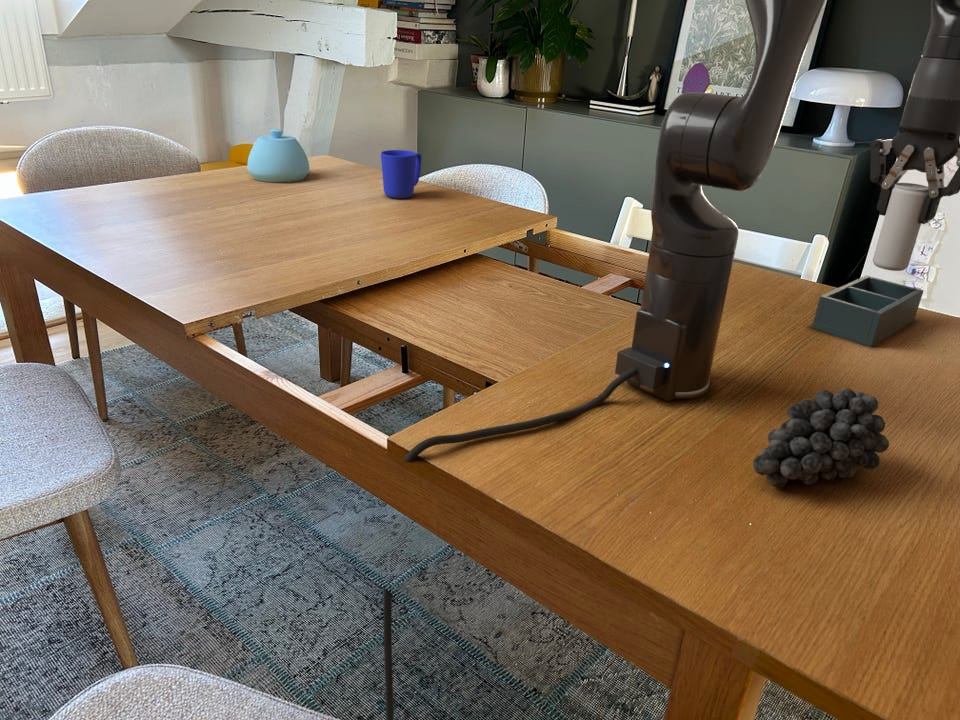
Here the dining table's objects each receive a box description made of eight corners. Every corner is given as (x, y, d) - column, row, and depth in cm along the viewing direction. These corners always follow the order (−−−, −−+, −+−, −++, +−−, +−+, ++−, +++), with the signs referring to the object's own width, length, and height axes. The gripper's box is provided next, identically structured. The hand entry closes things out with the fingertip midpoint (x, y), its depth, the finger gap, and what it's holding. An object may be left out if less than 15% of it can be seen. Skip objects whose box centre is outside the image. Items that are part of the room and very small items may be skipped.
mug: (432, 193, 176) (433, 151, 172) (401, 202, 167) (401, 157, 163) (405, 188, 180) (405, 146, 176) (373, 196, 171) (373, 152, 167)
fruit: (787, 418, 64) (904, 386, 70) (720, 403, 71) (830, 376, 77) (792, 512, 65) (906, 474, 71) (725, 488, 73) (833, 455, 78)
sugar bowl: (321, 175, 189) (319, 129, 184) (286, 186, 176) (283, 136, 172) (273, 169, 194) (269, 123, 189) (235, 178, 181) (231, 130, 176)
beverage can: (870, 267, 109) (893, 186, 104) (871, 259, 112) (894, 181, 107) (907, 273, 107) (932, 191, 102) (906, 265, 111) (931, 185, 105)
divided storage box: (913, 321, 113) (923, 290, 111) (871, 347, 103) (881, 313, 101) (857, 304, 119) (865, 275, 117) (811, 327, 108) (819, 296, 106)
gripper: (874, 90, 102) (842, 211, 109) (991, 101, 92) (948, 234, 99) (895, 88, 106) (863, 205, 113) (1008, 99, 97) (966, 226, 104)
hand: (903, 218), depth 106 cm, fingers closed on beverage can, 5 cm apart
